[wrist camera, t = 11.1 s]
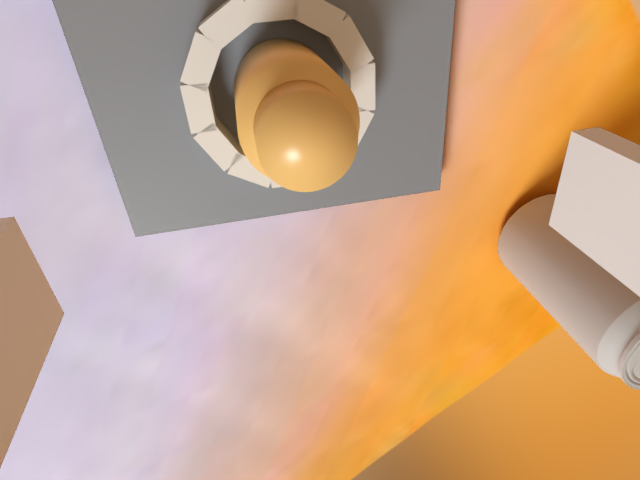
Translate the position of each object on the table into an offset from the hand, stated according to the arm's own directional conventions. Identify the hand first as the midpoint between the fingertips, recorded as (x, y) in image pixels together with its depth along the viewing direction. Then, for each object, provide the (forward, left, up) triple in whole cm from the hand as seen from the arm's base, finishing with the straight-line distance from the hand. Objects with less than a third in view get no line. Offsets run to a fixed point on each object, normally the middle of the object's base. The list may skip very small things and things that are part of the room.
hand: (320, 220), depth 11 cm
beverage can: (+17, -12, -15) cm, 26 cm away
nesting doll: (+1, 0, -14) cm, 14 cm away
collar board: (0, 0, -15) cm, 15 cm away
